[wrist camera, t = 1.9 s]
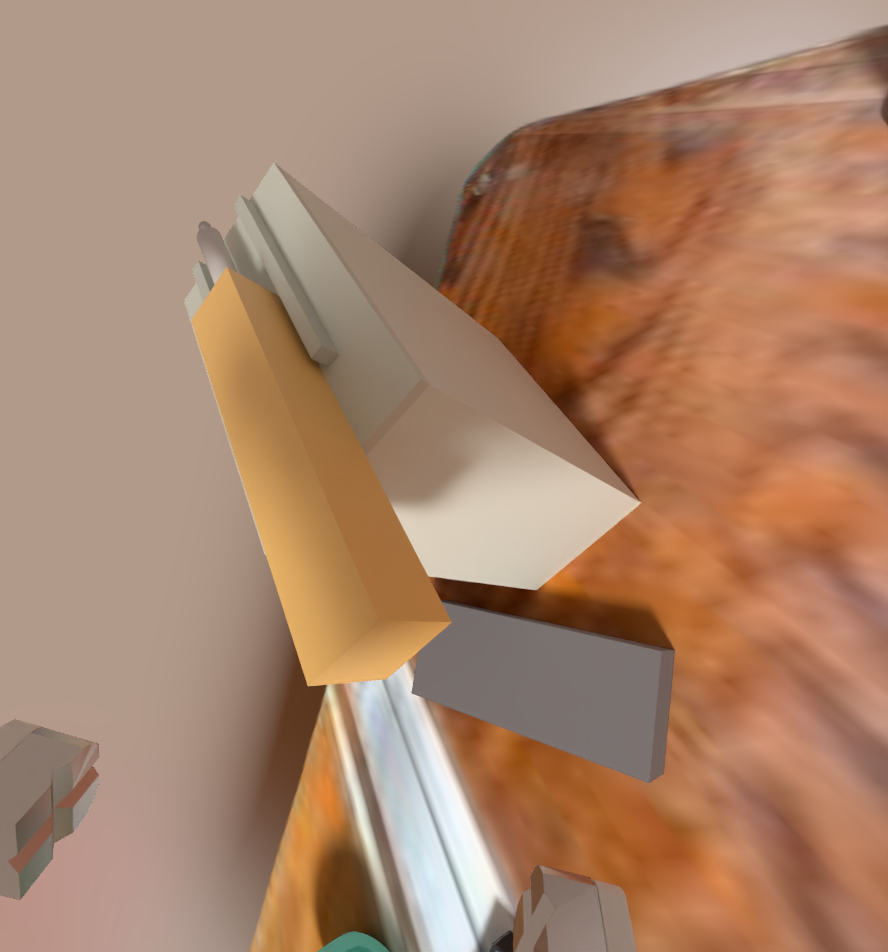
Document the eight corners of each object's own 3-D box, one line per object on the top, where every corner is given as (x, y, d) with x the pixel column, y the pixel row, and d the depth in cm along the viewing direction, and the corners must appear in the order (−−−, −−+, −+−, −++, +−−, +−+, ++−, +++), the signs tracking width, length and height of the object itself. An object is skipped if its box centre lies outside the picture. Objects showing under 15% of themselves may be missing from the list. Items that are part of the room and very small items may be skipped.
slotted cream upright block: (425, 417, 57) (169, 294, 36) (498, 338, 53) (259, 151, 33) (536, 590, 44) (245, 551, 24) (641, 503, 41) (403, 369, 20)
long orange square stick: (215, 263, 35) (163, 234, 33) (244, 220, 34) (192, 186, 31) (386, 679, 19) (307, 686, 16) (451, 622, 18) (378, 619, 15)
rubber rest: (447, 600, 50) (427, 598, 47) (674, 650, 37) (661, 651, 35) (433, 690, 48) (411, 693, 46) (663, 773, 36) (649, 783, 34)
